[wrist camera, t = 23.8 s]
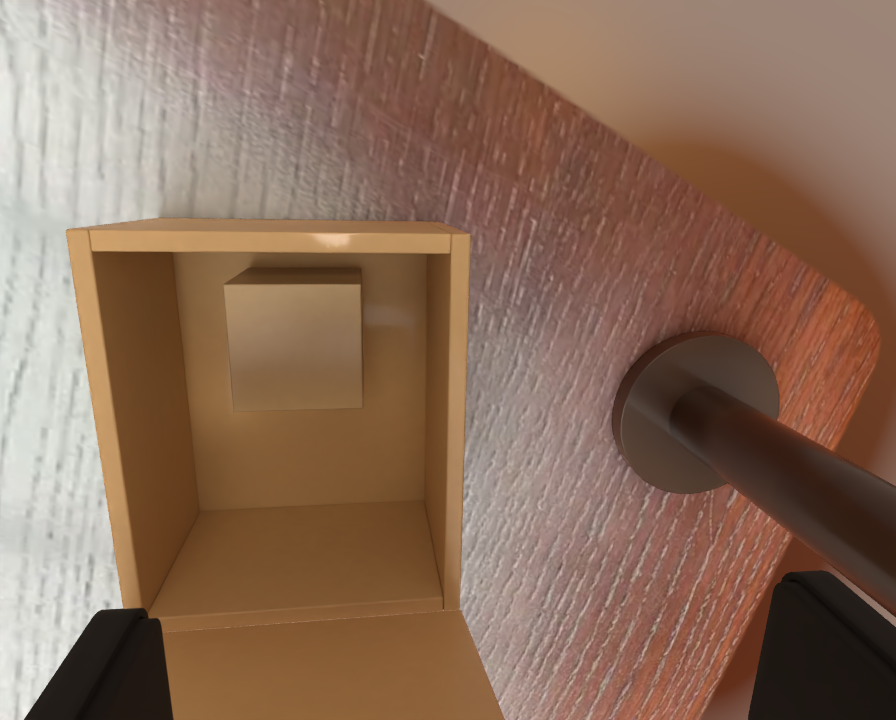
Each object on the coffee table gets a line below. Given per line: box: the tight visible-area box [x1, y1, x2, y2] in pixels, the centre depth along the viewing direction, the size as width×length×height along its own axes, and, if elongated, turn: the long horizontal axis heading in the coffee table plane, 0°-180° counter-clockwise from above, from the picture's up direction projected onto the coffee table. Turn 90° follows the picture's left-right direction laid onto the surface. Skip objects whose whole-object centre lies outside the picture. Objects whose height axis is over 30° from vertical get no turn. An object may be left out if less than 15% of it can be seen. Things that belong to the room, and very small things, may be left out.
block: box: [223, 268, 364, 412], centre depth 22 cm, size 4×4×4 cm
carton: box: [66, 218, 471, 632], centre depth 22 cm, size 13×11×8 cm
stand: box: [612, 331, 896, 617], centre depth 21 cm, size 8×8×16 cm
